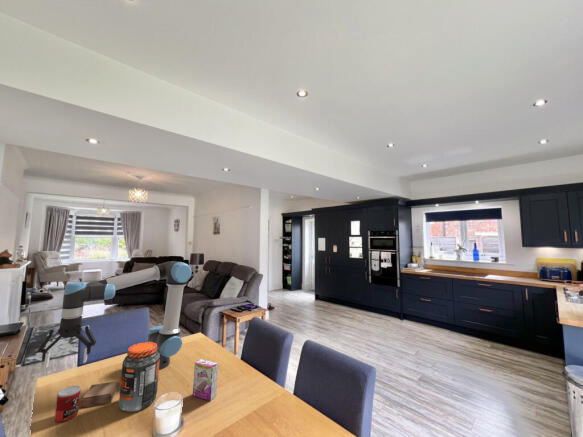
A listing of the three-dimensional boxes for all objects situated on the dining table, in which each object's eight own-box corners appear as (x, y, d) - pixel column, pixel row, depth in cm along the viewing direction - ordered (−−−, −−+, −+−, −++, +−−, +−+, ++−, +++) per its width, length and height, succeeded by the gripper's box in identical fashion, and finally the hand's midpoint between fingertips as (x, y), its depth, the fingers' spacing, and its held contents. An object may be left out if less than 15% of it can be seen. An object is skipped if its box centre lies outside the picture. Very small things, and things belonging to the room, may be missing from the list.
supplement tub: (117, 399, 120) (122, 344, 122) (153, 389, 129) (157, 337, 132) (119, 419, 107) (124, 357, 110) (159, 405, 117) (163, 348, 119)
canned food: (64, 424, 103) (67, 396, 104) (49, 421, 105) (52, 394, 106) (82, 412, 111) (85, 386, 112) (68, 409, 112) (71, 384, 113)
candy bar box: (191, 396, 124) (194, 362, 126) (198, 391, 129) (200, 358, 130) (210, 402, 120) (212, 367, 122) (216, 396, 125) (218, 362, 127)
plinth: (118, 388, 129) (119, 380, 129) (111, 402, 118) (111, 393, 118) (90, 392, 125) (91, 384, 125) (80, 407, 113) (81, 398, 114)
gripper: (106, 311, 124) (101, 356, 122) (38, 317, 112) (32, 366, 110) (103, 315, 117) (98, 362, 115) (31, 322, 105) (24, 374, 103)
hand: (66, 364), depth 112 cm, fingers open, 13 cm apart
